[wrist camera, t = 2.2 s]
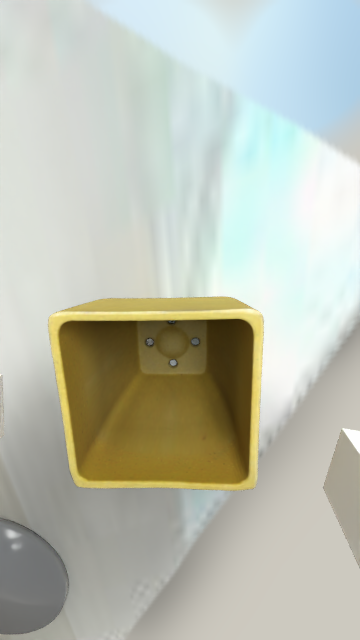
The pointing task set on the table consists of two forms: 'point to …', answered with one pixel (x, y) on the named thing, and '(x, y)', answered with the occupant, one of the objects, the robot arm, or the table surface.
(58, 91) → the table surface
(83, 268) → the table surface
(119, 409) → the flower pot
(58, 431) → the table surface
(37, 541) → the disc
